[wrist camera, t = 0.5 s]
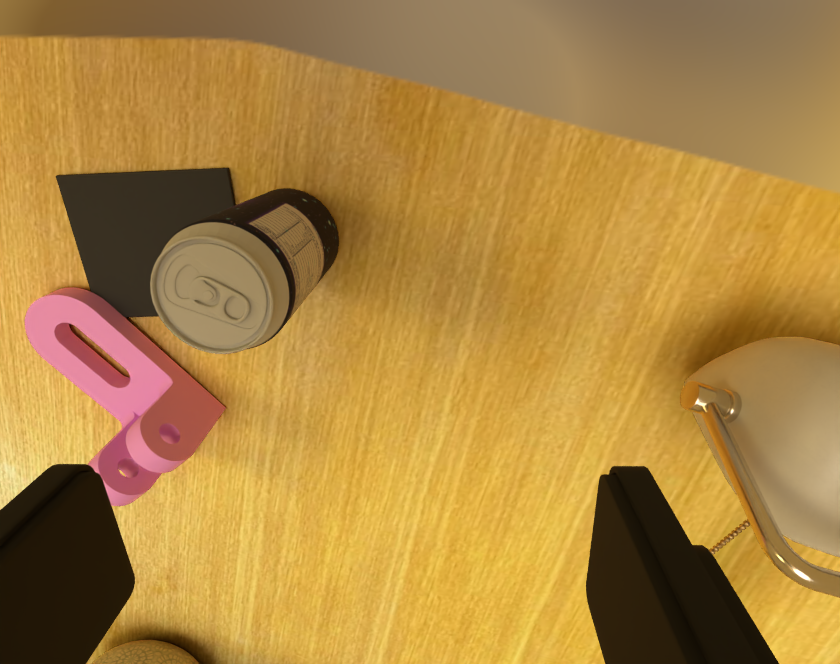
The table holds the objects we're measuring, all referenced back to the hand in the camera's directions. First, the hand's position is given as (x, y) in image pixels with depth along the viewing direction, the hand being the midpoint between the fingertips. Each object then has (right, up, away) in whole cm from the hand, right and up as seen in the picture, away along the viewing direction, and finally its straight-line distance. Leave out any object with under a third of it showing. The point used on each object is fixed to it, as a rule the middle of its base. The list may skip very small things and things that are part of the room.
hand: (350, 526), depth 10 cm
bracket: (-19, +1, +26) cm, 32 cm away
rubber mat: (-15, +9, +22) cm, 28 cm away
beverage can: (-6, +10, +22) cm, 25 cm away
